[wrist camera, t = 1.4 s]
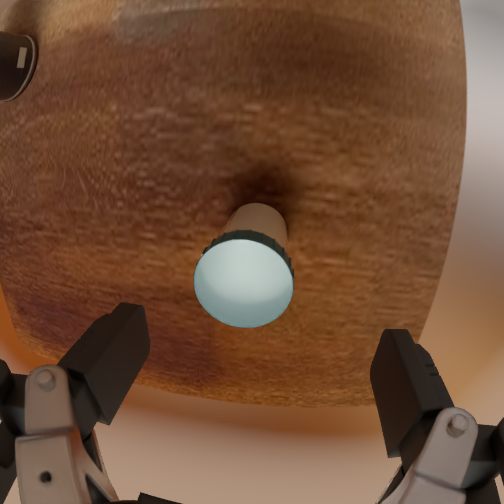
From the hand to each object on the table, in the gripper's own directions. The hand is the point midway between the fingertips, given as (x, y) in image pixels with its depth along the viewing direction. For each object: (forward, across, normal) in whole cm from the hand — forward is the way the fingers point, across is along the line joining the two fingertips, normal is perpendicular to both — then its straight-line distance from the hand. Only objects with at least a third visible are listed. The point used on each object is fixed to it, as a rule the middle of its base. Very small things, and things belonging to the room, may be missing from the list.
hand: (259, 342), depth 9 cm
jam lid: (+10, +2, +3) cm, 10 cm away
